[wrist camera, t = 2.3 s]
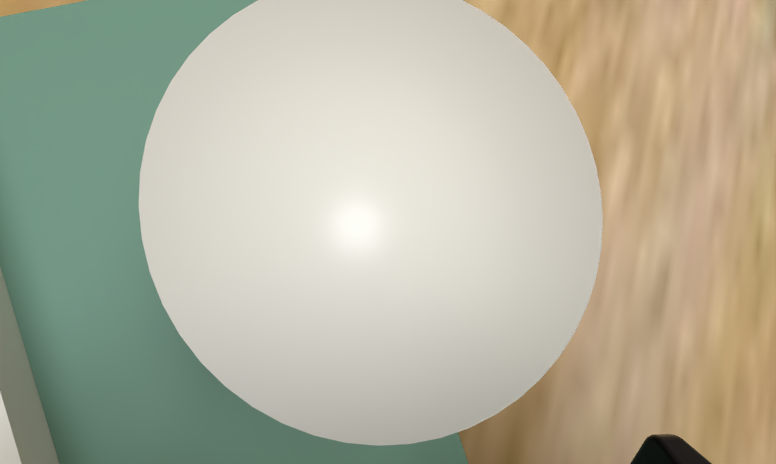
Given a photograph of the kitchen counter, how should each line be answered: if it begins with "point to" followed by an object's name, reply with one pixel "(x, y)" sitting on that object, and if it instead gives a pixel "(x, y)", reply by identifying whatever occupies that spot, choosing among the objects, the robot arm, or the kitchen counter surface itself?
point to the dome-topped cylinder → (370, 215)
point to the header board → (112, 258)
